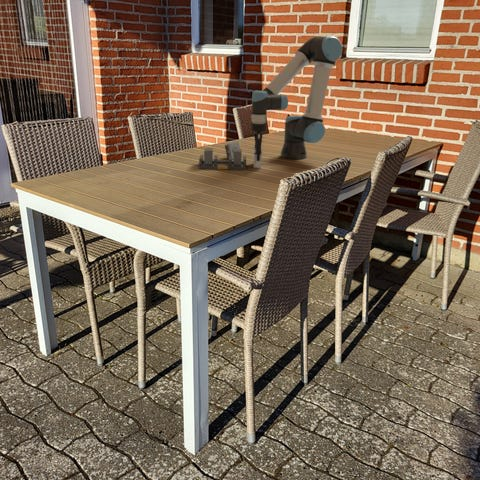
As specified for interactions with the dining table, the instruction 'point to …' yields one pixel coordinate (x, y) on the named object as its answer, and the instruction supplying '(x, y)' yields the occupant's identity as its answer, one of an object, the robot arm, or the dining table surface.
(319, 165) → the dining table surface
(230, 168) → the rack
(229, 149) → the electrical switch
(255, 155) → the grey block
